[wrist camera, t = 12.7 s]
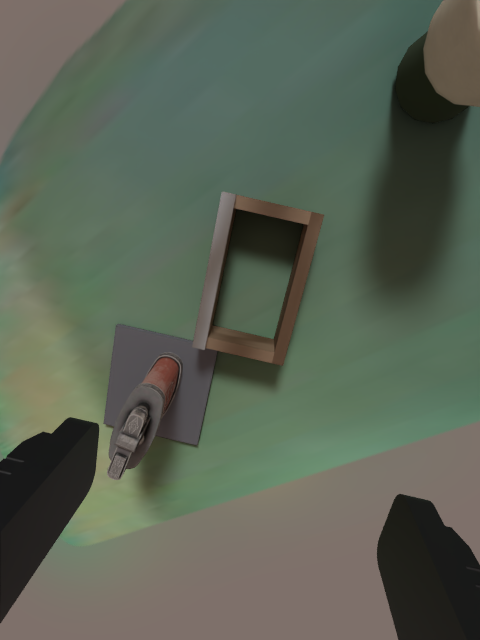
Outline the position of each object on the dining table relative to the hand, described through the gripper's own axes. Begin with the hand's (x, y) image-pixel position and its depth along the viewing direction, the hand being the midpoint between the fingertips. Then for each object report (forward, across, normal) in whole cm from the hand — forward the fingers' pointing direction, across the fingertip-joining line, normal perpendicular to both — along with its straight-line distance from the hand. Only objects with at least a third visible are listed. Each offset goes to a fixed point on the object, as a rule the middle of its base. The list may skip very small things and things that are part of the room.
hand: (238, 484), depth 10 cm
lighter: (+25, +8, +12) cm, 29 cm away
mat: (+26, +9, +12) cm, 30 cm away
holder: (+26, +1, -1) cm, 26 cm away
